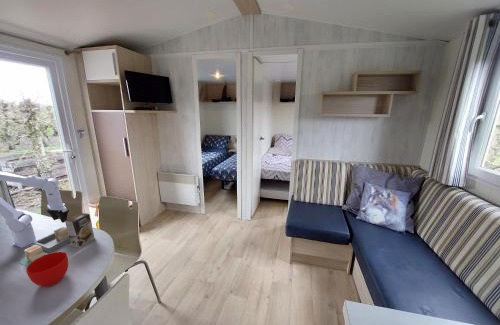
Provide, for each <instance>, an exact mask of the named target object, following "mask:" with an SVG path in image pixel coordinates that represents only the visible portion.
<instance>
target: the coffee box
mask: <svg viewBox="0 0 500 325" xmlns="http://www.w3.org/2000/svg"><path fill="white" fill-rule="evenodd" d="M64 223H65V227H66V228H67V232H68V235H69V240H70V242H69V244H70V247H72V248H82V247H83V246H85V245H86V244H88V243H90V242H91V241H93V240H94V239H95V237H96V236H95V233H94V229H93V224H92V219H91V215H90V213H84V212H80V213H78V214H76V215H73V216H71V217H69V218H67V220H65V222H64Z"/></svg>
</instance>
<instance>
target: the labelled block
mask: <svg viewBox="0 0 500 325" xmlns="http://www.w3.org/2000/svg"><path fill="white" fill-rule="evenodd" d="M23 252H24V255H25V257H26V259H27V260H28V261H30V262H33V261H34V260H36V259H38V258H40V257H42V256H43V255H44V254H43V252H44V250H42V247H41V246H38V245H34V244H33V245H31V247H27V248H26V249H24V250H23Z"/></svg>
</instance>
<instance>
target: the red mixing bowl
mask: <svg viewBox="0 0 500 325" xmlns="http://www.w3.org/2000/svg"><path fill="white" fill-rule="evenodd" d="M68 268H69V259H68V253H67V252H65V251H53V252H49V253H48V254H47V255H46V254H45V255H43V256H42V257H40V258H38V259H36V260H34V261H33V262H32V263H30V264H29V265H28V267H27V266H26V268H25V269H26V270H25V272H26V275H27V276H28V278H29V279H30V281H31V282H32V284H35V285H36V286H40V287H45V288H48V287H52V286H54V285H55V286H56V284H58V283H60V282H61V281H62V280H63V279H64V277H65V275H66V274H67V271H68Z"/></svg>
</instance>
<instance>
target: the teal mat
mask: <svg viewBox="0 0 500 325" xmlns="http://www.w3.org/2000/svg"><path fill="white" fill-rule="evenodd" d="M43 254H44V255H45V254H46V255H47V254H49V252H46V251H43ZM30 263H32V262H30V261H28V260H27V258H25V259H23V260H21V261H19V262H18V264H20V265H23V266H25V267H26V268H27V267H28V265H29V264H30Z"/></svg>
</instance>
